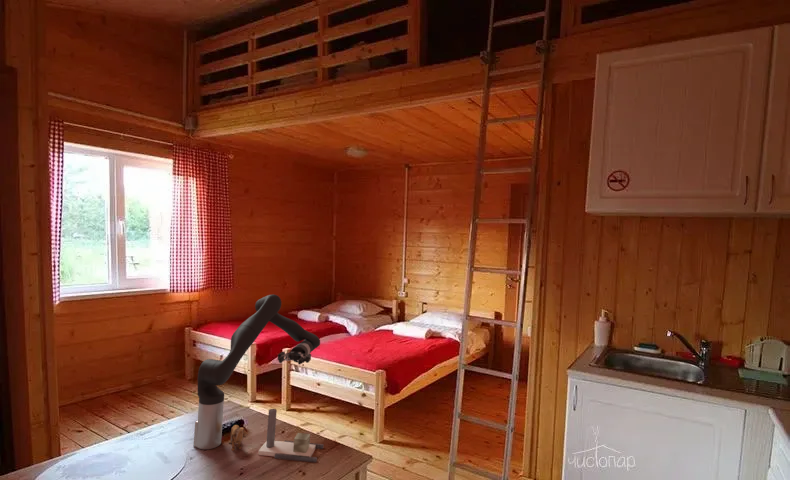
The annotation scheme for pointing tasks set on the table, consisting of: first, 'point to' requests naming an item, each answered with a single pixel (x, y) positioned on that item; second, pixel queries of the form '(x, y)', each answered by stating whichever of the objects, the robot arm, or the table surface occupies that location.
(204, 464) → the table surface
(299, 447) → the block
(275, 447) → the base with upright peg
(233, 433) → the lion figurine
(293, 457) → the guide rails
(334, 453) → the table surface
